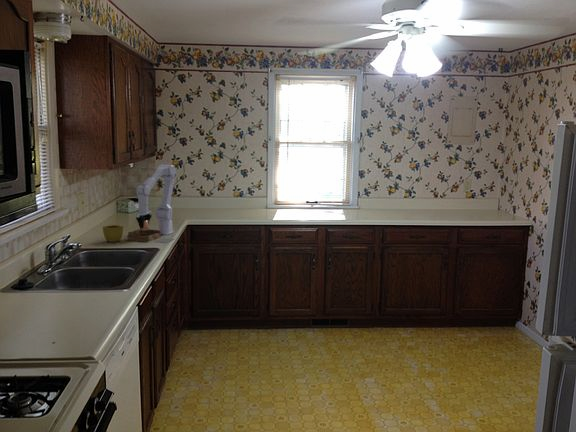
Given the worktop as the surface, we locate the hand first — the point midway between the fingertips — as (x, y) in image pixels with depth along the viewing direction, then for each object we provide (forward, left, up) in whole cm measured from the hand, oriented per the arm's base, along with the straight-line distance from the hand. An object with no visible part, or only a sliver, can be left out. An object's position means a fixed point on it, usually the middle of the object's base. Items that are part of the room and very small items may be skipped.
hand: (144, 227), depth 345 cm
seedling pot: (0, 0, -2) cm, 2 cm away
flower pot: (+13, -13, -7) cm, 20 cm away
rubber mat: (0, +14, -7) cm, 16 cm away
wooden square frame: (0, 0, -7) cm, 7 cm away
